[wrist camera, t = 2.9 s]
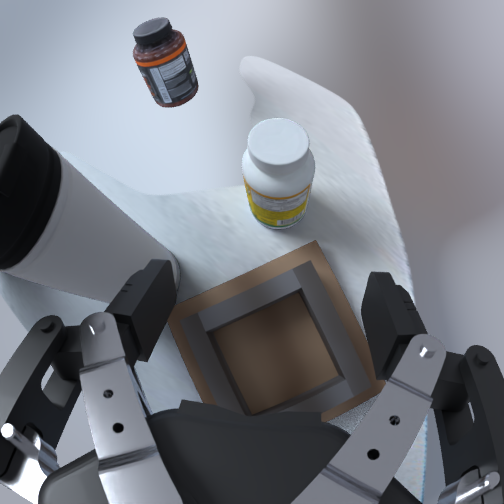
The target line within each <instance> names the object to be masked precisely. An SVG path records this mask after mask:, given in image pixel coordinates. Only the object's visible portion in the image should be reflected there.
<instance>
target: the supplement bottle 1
mask: <svg viewBox="0 0 504 504" xmlns="http://www.w3.org/2000/svg"><path fill="white" fill-rule="evenodd" d="M133 36H134V38H135V41H136V43H137V44H136V46H135V47H134V50H133V57H134V59H135V61H136V63H137V66H138V68H139V70H140V72H141V74H142V76H143V78H144V80H145V82H146V84H147V86H148V88H149V90H150V92H151V94H152V96H153V98H154V100H155V101H156V103H157V104H159V105H160V106H162V107H176V106H180V105H182V104H184V103H186V102H188V101H189V100H190V99H192V98H193V97H194V96H195V94H196V93H197V91H198V81H197V77H196V74H195V71H194V67H193V64H192V61H191V58H190V54H189V52H188V48H187V45H186V42H185V39H184V36H183V35H182V33H181V32H179V31H177V30H173V29H172V26H171V24H170V22H169V20H168V19H167V18H155V19H152V20H149V21H146V22H144V23H142V24H141V25H139V26H138V27H137V28H136V29H135V30H134V32H133Z"/></svg>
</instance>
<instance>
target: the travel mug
mask: <svg viewBox="0 0 504 504" xmlns="http://www.w3.org/2000/svg"><path fill="white" fill-rule="evenodd" d="M151 259H165V260H170V261H171V263H172V268H173V274H174V280H175V286H176V292H177V289H178V286H179V283H180V268H179V265H178V262H177V260H176V258H175V256H174V255H173V254H172V253H171V252H170V251H169V250H168V249H167V248H165V247H164V246H163V245H162V244H161V243H159V242H158V241H157V240H156V239H155V238H153V237H152V236H151V235H150V234H149V233H147V232H146V231H145V230H144V229H143V228H142V227H140V226H139V225H138V224H137V223H136V222H135V221H133V220H132V219H131V218H130V217H129V216H128V215H127V214H125V213H124V212H123V211H122V210H121V209H120V208H119V207H117V206H116V205H115V204H114V203H113V202H112V201H111V200H110V199H108V198H107V197H106V196H105V195H104V194H103V193H102V192H101V191H100V190H98V189H97V188H96V187H95V186H94V185H93V184H92V183H91V182H90V181H89V180H88V179H86V178H85V177H84V176H83V175H82V174H81V173H80V172H79V171H78V170H77V169H76V168H75V167H74V166H72V165H71V164H70V163H69V162H68V161H67V160H66V159H65V158H64V157H62V155H61V154H60V153H59V152H58V151H57V150H55V149H54V148H53V147H51V146H50V145H49V144H47V143H46V142H45V141H44V139H43V138H42V137H41V136H40V135H38V133H37V132H36V131H34V129H33V128H32V127H30V125H28V123H26V121H24V120H23V118H21V116H19V115H12V116H9V117H8V118H6V119H5V120H4V121H2V122H1V123H0V271H1V272H5V273H8V274H10V275H12V276H15V277H19V278H22V279H25V280H28V281H31V282H34V283H37V284H41V285H44V286H47V287H51V288H54V289H58V290H61V291H65V292H68V293H72V294H75V295H79V296H83V297H87V298H91V299H94V300H98V301H102V302H106V303H111V302H112V300H113V299H114V298H115V296H116V295H117V293H118V292H120V289H121V288H122V287H123V285H125V283H126V281H127V280H128V279H129V278H130V276H131V275H133V274H134V273H136V272H137V271H139V270H140V269H141V270H144V268H145V267H146V266H147V264H148V263H149V262H150V260H151Z"/></svg>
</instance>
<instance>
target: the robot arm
mask: <svg viewBox="0 0 504 504" xmlns="http://www.w3.org/2000/svg"><path fill="white" fill-rule="evenodd" d="M176 296H177V293H176V286H175V280H174V274H173V268H172V263H171V261H170V260H165V259H151V260H150V262H149V263H148V264H147V266H146V267H145V268H144V270H141V269H140V270H139V271H137V272H136V273H134V274H133V275H131V276H130V278H129V279H128V280H127V281H126V283H125V285H123V287H122V288H121V289H120V292H118V293H117V295H116V296H115V298H114V299H113V300H112V302H111V303H110V304H109V306H108V307H107V308H106V310H105V311H104V312H98V313H94V314H92V315H90V316H88V317H87V318H85V319H84V320H83V322H82V323H81V325H80V326H64V324H63V322H62V320H61V318H60V317H58V316H55V315H50V316H46V317H44V318H42V319H40V320H39V321H38V322H37V323H36V324H35V325H34V326H33V328H32V329H31V330H30V332H29V333H28V334H27V336H26V337H25V338H24V340H23V341H22V343H21V344H20V346H19V347H18V348H17V350H16V351H15V353H14V354H13V356H12V357H11V359H10V360H9V362H8V363H7V365H6V367H5V368H4V369H3V371H2V372H1V374H0V484H2V485H3V486H5V487H7V488H8V489H10V490H14V491H15V492H17V493H19V494H20V495H22V496H24V497H25V498H27V499H28V500H30V501H31V502H33V503H35V504H422V503H421V502H420V501H419V500H418V499H417V498H416V497H414V496H413V495H412V494H411V493H410V492H409V491H408V490H407V489H406V488H405V487H404V486H403V485H402V484H401V483H400V482H399V481H398V480H396V479H395V478H394V475H395V473H396V472H397V470H398V468H399V467H400V465H401V463H402V462H403V460H404V458H405V456H406V455H407V453H408V451H409V449H410V447H411V445H412V444H413V442H414V440H415V438H416V436H417V434H418V432H419V430H420V428H421V426H422V424H423V421H424V419H425V417H426V415H427V413H428V410H429V408H433V409H434V414H435V418H436V423H437V428H438V434H439V440H440V445H441V452H442V459H443V466H444V474H445V483H446V487H445V489H444V490H443V491H442V492H441V494H440V496H439V499H438V503H437V504H504V378H503V376H502V373H501V371H500V368H499V366H498V364H497V362H496V360H495V357H494V356H493V354H492V353H491V352H490V351H489V350H488V349H486V348H485V347H483V346H479V345H474V346H471V347H469V349H467V351H466V353H465V354H464V355H461V354H456V353H452V352H447V351H446V349H445V346H444V345H443V343H442V342H441V341H440V340H439V339H437V338H436V337H434V336H432V335H428V333H427V331H426V329H425V327H424V324H423V322H422V320H421V318H420V316H419V313H418V311H416V307H415V305H414V303H413V301H412V299H411V297H410V295H409V293H408V292H407V291H406V290H405V289H404V288H403V287H402V286H401V285H395V282H394V280H393V278H392V276H391V274H390V273H389V272H371V273H370V275H369V278H368V282H367V286H366V290H365V294H364V298H363V301H362V307H361V316H362V321H363V324H364V328H365V332H366V336H367V340H368V345H369V349H370V353H371V357H372V362H373V366H374V371H375V376H376V380H387V383H386V385H385V386H384V388H383V389H382V391H381V393H380V394H379V396H378V397H377V399H376V400H375V402H374V403H373V405H372V406H371V408H370V409H369V411H368V412H367V414H366V415H365V417H364V418H363V420H362V421H361V422H360V424H359V425H358V426H357V428H356V429H355V431H354V432H353V433H352V435H350V434H349V433H348V432H346V431H345V430H343V429H341V428H339V427H337V426H335V425H332V424H329V423H326V422H322V421H321V412H291V411H285V412H279V413H273V414H266V415H259V416H245V415H242V414H239V413H236V412H233V411H231V410H228V409H225V408H222V407H219V406H217V405H213V404H206V403H200V402H194V401H188V400H182V401H181V404H180V407H179V408H178V409H169V410H164V411H160V412H157V413H154V414H153V413H152V411H151V409H150V406H149V404H148V402H147V399H146V396H145V394H144V391H143V389H142V386H141V383H140V380H139V378H138V375H137V372H136V369H135V367H134V365H135V363H136V361H137V360H139V361H144V362H148V360H149V358H150V355H151V353H152V351H153V349H154V347H155V345H156V343H157V341H158V339H159V336H160V334H161V332H162V330H163V328H164V326H165V324H166V322H167V320H168V318H169V316H170V314H171V312H172V310H173V308H174V305H175V303H176ZM50 364H51V366H52V367H53V369H54V371H53V373H52V375H51V377H50V378H49V380H48V382H47V384H46V386H45V388H44V389H43V391H42V388H41V381H42V378H43V376H44V375H45V373H46V371H47V369H48V368H49V366H50ZM81 390H82V392H83V397H84V402H85V407H86V412H87V416H88V421H89V425H90V430H91V434H92V438H93V441H94V445H95V449H94V450H92V451H91V452H88V453H87V454H85V455H83V456H81V457H80V458H78V459H76V460H74V461H72V462H70V463H69V464H67V465H65V466H63V467H61V468H60V467H59V464H58V463H57V455H56V452H55V449H56V447H57V444H58V442H59V439H60V437H61V435H62V432H63V430H64V428H65V425H66V423H67V421H68V418H69V416H70V414H71V412H72V410H73V407H74V405H75V403H76V401H77V398H78V397H79V395H80V392H81ZM469 402H471V406H472V409H473V413H474V418H475V419H474V423H473V419H472V415H471V412H470V408H469V405H468V403H469Z"/></svg>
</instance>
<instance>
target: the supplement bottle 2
mask: <svg viewBox="0 0 504 504" xmlns="http://www.w3.org/2000/svg"><path fill="white" fill-rule="evenodd" d="M309 145H310V143H309V137H308V134H307V132H306V131H305V130H304V128H303V127H302V126H300V125H299V124H298V123H296V122H294V121H292V120H289V119H285V118H270V119H267V120H264V121H262V122H260V123H258V124H257V125H255V126H254V127H253V128H252V130H251V131H250V133H249V136H248V148H247V149H246V151H245V153H244V155H243V159H242V172H243V177H244V183H245V188H246V192H247V197H248V202H249V206H250V209H251V212H252V214H253V216H254V218H255V219H256V220H257V221H258V222H259V223H260V224H262V225H264V226H266V227H269V228H272V229H285V228H288V227H291V226H293V225H295V224H296V223H298V222H299V221H300V220H301V219H302V217H303V216H304V214H305V212H306V209H307V205H308V200H309V196H310V191H311V186H312V182H313V178H314V173H315V161H314V157H313V155H312V152H311V151H310V149H309Z"/></svg>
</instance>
